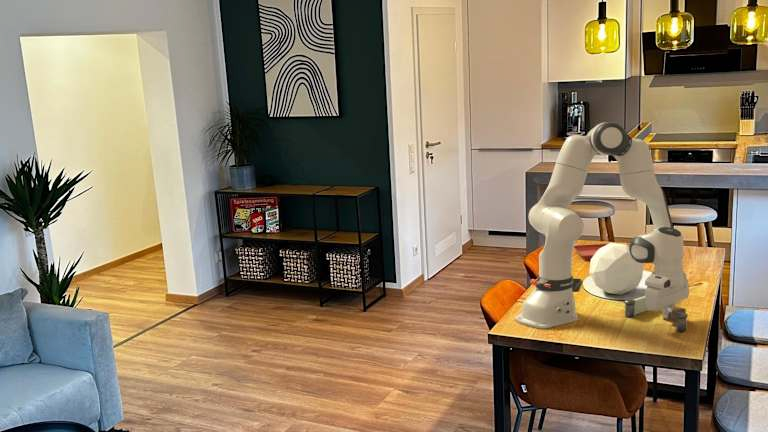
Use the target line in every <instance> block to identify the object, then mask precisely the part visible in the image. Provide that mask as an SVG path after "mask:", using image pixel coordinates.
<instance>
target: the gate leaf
mask: <svg viewBox="0 0 768 432" xmlns="http://www.w3.org/2000/svg"><path fill="white" fill-rule="evenodd" d="M633 300H635V301H636V303H635V307H634V316H635V315H638V314H640V313H643V312H646V311H650V310H649V309H647V308H646V306H645V295H643V296H639V297H637V298H634V299H633Z"/></svg>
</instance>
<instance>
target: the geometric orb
mask: <svg viewBox="0 0 768 432" xmlns="http://www.w3.org/2000/svg"><path fill="white" fill-rule="evenodd" d="M607 244H608V245H606V246H604V247H602V248H600V249H599V250H598V251H597V252H596V253H595V255H594V256H593V257H592V259H591V260H590V262H589V263H590V264H589V273H588V274H589V275H590V277H591V279H592V281H593V282H594V285H595V286H596V287H598V288H599V289H600V290H602V291H604V292H605V293H608V294H613V295H619V296H623V295H625V294H627V293H629V292H630V291H633V290H634V289H636V288H637V286H638V285H639V283H640V282H641V280H642V279H643V275H644V266H645V263H638V262H636V261H635V260H634V259H633V258H632V257H631V255H630V252H629V244H628V245H627V244H623V243H614V242H609V243H607Z"/></svg>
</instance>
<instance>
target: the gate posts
mask: <svg viewBox="0 0 768 432" xmlns="http://www.w3.org/2000/svg"><path fill="white" fill-rule="evenodd" d="M623 301H624V305H625V306H624V317H625V318H627V319H633V318H635V315H634V307H635V303H636V301H635V300H634V299H630V298H629V299H625V300H623ZM687 318H688V313H687V312H686V313H682V312H679V313H676V323H675V332H678V333H686V332H687V321H688V320H687Z"/></svg>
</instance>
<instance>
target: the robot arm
mask: <svg viewBox="0 0 768 432" xmlns="http://www.w3.org/2000/svg"><path fill="white" fill-rule="evenodd" d="M651 153H652V152H651V150H650V147H649V144H648V143H647V142H646V141H645V140H643V139H640V138H632V136H630V134H628V132H627V131H626V129H625V128H624V127H623V126H622V125H621V124H620V123H618V122H614V121H604V122H600V123H598V124H596V125H595V126H594V127H593V128H591V129H590V130H589V131H588V132H587V133H586V134H585V135H581V134H573V135H570V136H568V137H567V138H566V139H565V140H564V142H563V145H562V147H561V148H560V150H559V153H558V156H557V158H556V161H555V165H554V167H553V170H552V173H551V177H550V180H549V183H548V186H547V187H546V189H545V191H544V193H543V195H542V196H541V198H540V199H539V201H538V202H537V203H535V205H533V206H532V207H531V208H530V210H529V212H528V217H527V218H528V221H529V224H530V226H531V227H532V228H533V229H534V230H535V231H537V232H538V233H540V234H542V235H544V236H545V242H544V246H543V248H542V250H541V251H540V252H539V254H538V276H537V278H536V279H535V278H531V279H530V282H529V284H531V286H535V288H534V289H533V290H532V291H531V293H529V295H528V296H527V297H526V298H525V300H524V301H523V302H522V306H521V307H522V308H521V312H520V313H519V314H517V315H515V316H514V320H515V321H517V323H519V324H522V325H525V326H528V327H532V328H536V329H542V330H543V329H545V330H546V329H550V328H553V327H559V326H561V325H565V324H569V323H573V322H574V323H575V322H576V321H577V322H578V321H579V317H578V315H577V310H576V309H577V308H576V299H575V295H574V292H573V291H572V287H573V278H574V277H573V275H572V273H573V272H572V271H573V267H572V266H573V264H572V263H573V261H572V259H573V251H574V246H576V242H577V240H578V239H579V238H580V237H581V236H582V235H583V232H584V228H585V226H584V225H585V224H584V221H583V219H582V217H580V216H579V215H578V213H576V212H575V211H574V210H572V209H569V207H570V206H571V204H572V203H573V201H574V200H575V199H576V198H577V197H579V196H580V195H581V194H582V192H583V188H584V185H585V181H586V179H587V176H588V172H589V169H590V165H591V162H592V160H593V159H594V157H596V156H613V157H614V159H615V160H616V162H617V164H618V172H619V173H618V174H619V179H620V180H619V181H620V185H621V187H622V188H621V189H622V191H623V192H624V193H625V194H626V195H627V196H629V197H630V198H632V199H635V200H638V201H641V202H643V203H644V204H646V206H647V208H648V209H649V212H650V213H649V215H650V217H651V221H652V225H653V231H651V232H649V233H643V234H639V235H637V236H634V237H633V238H632V239H631V240H630V242H629V244H628V246H629V252H630V255H631V257H632V258H633V259H634V260H635V261H636V262H638V263H643V264H653V266H654V267H653V270H654V271H652V272H651V274H650V275H649V276H648V277H647V278H646V279H645V281H644V285H645V286H647V287H646V288H645V293H644V294H645V295H644V296H645V306H646V308H647V309H649V310H648V311H653V312H658V311H661V312H662V318H663V317H664V318H668V317H671V316H672V311H673V309H674V306H676V304H677V303H679V302H681V301H684V300H686V299H688V298H689V296H690V285H689V284H690V283H689V279H688V278H687V274H686V272H685V271H684V266H683V259H684V252H685V251H684V249H685V246H684V237H683V234H682V232H681V231H680V230H679V229H676V228H674V224H673V222H672V217H671V213H670V208H669V206H668V202H667V198H666V195H665V192H664V190H663V188H662V187H661V185H660V184H659V183H658V179H657V176H656V174H655V167H654V161H653V158H652V154H651Z"/></svg>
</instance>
